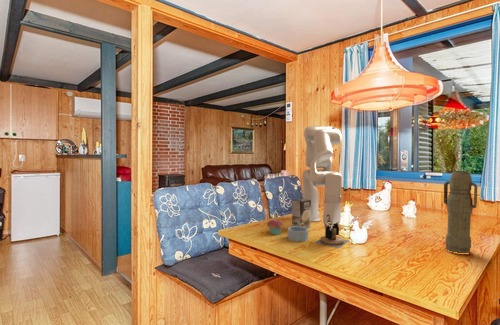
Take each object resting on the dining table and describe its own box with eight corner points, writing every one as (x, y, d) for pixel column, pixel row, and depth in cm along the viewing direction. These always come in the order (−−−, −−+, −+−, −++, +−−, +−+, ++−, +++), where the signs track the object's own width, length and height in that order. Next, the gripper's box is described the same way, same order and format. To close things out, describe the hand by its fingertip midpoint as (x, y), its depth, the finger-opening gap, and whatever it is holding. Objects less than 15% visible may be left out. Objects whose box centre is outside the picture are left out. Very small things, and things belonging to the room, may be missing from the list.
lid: (326, 236, 144) (326, 224, 144) (347, 241, 137) (347, 228, 137) (316, 242, 136) (316, 228, 135) (338, 246, 129) (338, 233, 129)
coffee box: (301, 231, 155) (301, 201, 154) (291, 229, 159) (291, 200, 159) (310, 228, 161) (311, 199, 160) (301, 226, 166) (301, 198, 165)
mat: (326, 236, 146) (326, 235, 146) (349, 241, 138) (349, 240, 138) (313, 243, 135) (313, 242, 135) (338, 249, 127) (338, 248, 127)
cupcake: (282, 236, 146) (282, 212, 145) (265, 235, 147) (265, 211, 147) (283, 231, 154) (284, 209, 154) (268, 230, 156) (268, 208, 155)
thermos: (444, 246, 133) (447, 170, 131) (476, 252, 124) (479, 171, 123) (438, 250, 127) (441, 170, 125) (472, 257, 118) (475, 172, 117)
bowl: (294, 235, 148) (294, 225, 148) (311, 238, 142) (311, 228, 142) (284, 239, 140) (284, 229, 140) (301, 243, 134) (301, 232, 134)
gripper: (332, 196, 145) (332, 231, 145) (317, 200, 131) (316, 239, 132) (347, 197, 140) (346, 233, 141) (333, 202, 126) (332, 242, 127)
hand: (332, 236), depth 136 cm, fingers open, 7 cm apart
